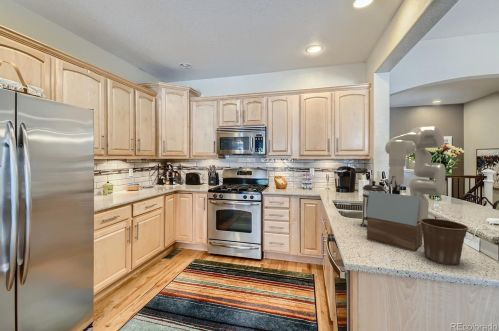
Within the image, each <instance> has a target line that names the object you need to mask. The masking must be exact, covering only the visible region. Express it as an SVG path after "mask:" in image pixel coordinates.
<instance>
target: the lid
mask: <svg viewBox="0 0 499 331" xmlns="http://www.w3.org/2000/svg"><path fill="white" fill-rule="evenodd" d="M419 202H420V197H417V196H411V195H406V194H400V195H399V194H392V193H387V192H384V193H381V192H372V191H369V198H368V205H367V213H366V217H371V218H376V219H381V220H387V221H392V222H397V223H403V224H408V225H413V226H417V221H418V211H419Z"/></svg>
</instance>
